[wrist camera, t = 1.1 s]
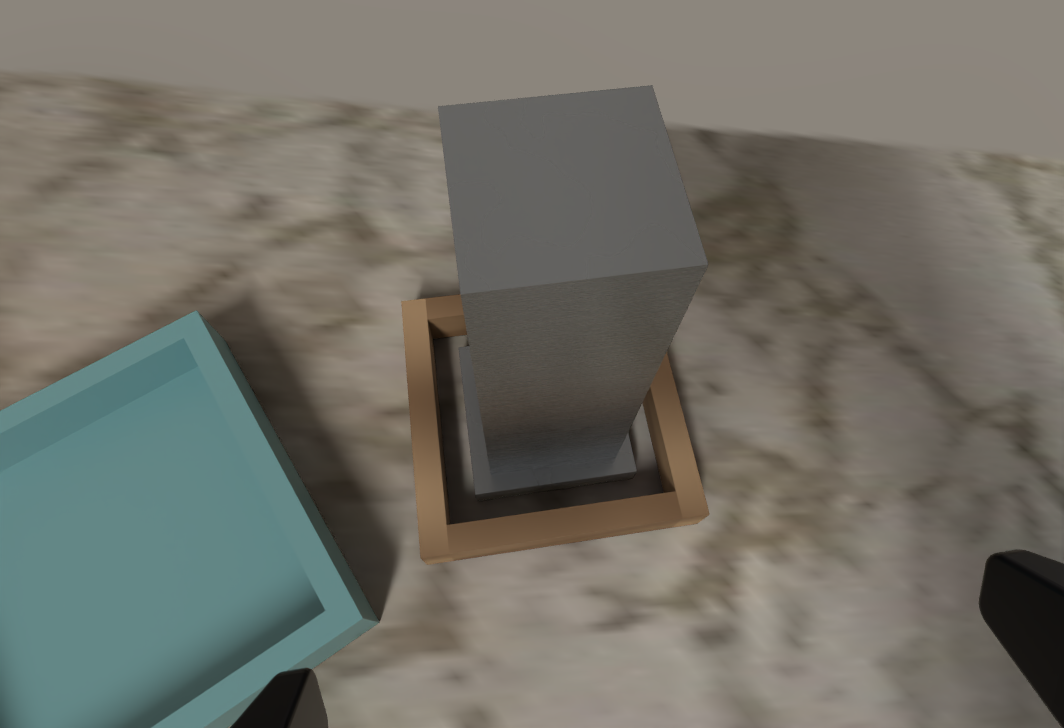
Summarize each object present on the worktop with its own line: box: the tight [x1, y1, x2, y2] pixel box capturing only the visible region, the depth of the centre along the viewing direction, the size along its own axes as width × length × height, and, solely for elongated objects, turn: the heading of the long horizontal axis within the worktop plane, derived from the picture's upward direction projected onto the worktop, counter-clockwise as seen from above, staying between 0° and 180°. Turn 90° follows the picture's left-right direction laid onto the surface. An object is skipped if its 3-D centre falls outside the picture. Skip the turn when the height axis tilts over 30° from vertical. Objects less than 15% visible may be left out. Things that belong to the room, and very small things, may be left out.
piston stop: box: [438, 85, 708, 501], centre depth 18 cm, size 6×6×13 cm
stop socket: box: [401, 294, 709, 565], centre depth 23 cm, size 9×9×2 cm
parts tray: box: [0, 310, 379, 728], centre depth 20 cm, size 12×12×2 cm
